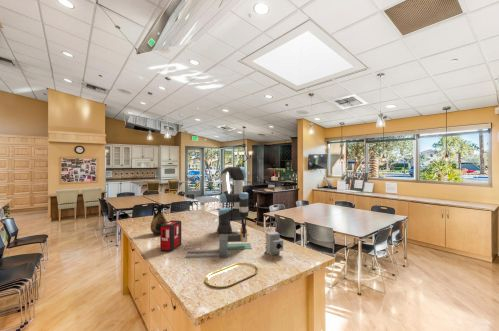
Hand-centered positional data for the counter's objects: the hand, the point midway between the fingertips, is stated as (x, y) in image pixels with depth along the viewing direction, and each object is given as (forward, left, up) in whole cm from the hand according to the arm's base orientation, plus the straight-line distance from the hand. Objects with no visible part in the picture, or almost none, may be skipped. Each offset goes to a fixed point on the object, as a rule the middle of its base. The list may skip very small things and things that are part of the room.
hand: (243, 240), depth 186 cm
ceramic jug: (-40, -79, -6) cm, 89 cm away
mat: (0, -4, -5) cm, 7 cm away
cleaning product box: (-2, -58, -6) cm, 58 cm away
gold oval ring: (+48, -10, -6) cm, 49 cm away
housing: (+14, -28, -5) cm, 32 cm away
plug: (0, -6, -1) cm, 6 cm away
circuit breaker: (+18, +22, -6) cm, 29 cm away
